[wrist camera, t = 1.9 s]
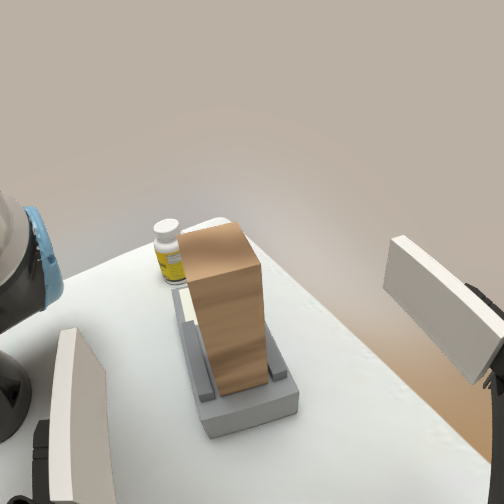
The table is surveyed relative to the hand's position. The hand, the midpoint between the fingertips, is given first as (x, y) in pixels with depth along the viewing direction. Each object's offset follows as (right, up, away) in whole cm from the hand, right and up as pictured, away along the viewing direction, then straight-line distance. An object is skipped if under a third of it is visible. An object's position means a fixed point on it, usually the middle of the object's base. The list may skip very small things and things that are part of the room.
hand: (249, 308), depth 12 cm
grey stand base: (-3, -11, +27) cm, 29 cm away
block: (-2, -10, +20) cm, 22 cm away
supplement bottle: (-12, -2, +41) cm, 43 cm away
